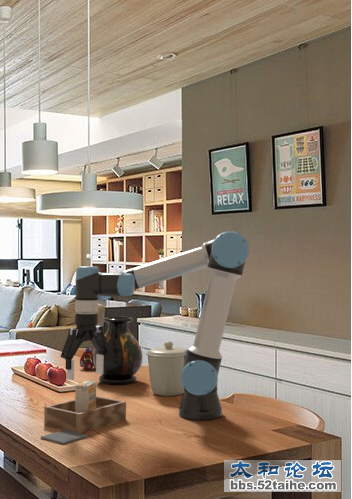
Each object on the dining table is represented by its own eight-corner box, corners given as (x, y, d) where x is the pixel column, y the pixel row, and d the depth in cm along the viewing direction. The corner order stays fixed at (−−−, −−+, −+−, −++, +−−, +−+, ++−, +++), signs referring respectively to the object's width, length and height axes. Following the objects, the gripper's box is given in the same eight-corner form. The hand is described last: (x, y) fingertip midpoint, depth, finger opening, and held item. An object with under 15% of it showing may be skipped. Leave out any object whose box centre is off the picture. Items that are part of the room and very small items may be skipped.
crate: (92, 412, 230) (92, 395, 230) (125, 419, 220) (126, 401, 220) (44, 425, 213) (44, 406, 213) (78, 433, 203) (78, 414, 203)
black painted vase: (136, 387, 273) (136, 320, 273) (86, 385, 276) (87, 319, 276) (146, 378, 294) (147, 315, 294) (100, 376, 297) (101, 314, 297)
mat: (87, 437, 199) (87, 435, 199) (63, 444, 191) (63, 442, 191) (65, 431, 205) (65, 429, 205) (40, 438, 197) (40, 436, 197)
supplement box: (88, 426, 212) (88, 385, 212) (74, 425, 213) (74, 385, 213) (96, 419, 220) (97, 380, 220) (83, 418, 221) (83, 380, 221)
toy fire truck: (78, 368, 318) (78, 347, 318) (103, 367, 322) (103, 345, 322) (81, 370, 311) (81, 349, 311) (106, 369, 315) (106, 347, 315)
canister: (200, 393, 261) (200, 341, 261) (167, 400, 249) (167, 345, 249) (168, 387, 274) (169, 337, 274) (136, 393, 262) (136, 340, 262)
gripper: (104, 309, 229) (103, 370, 229) (50, 314, 209) (49, 380, 209) (120, 311, 224) (119, 372, 224) (66, 316, 205) (65, 383, 204)
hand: (85, 376), depth 217 cm, fingers open, 13 cm apart
